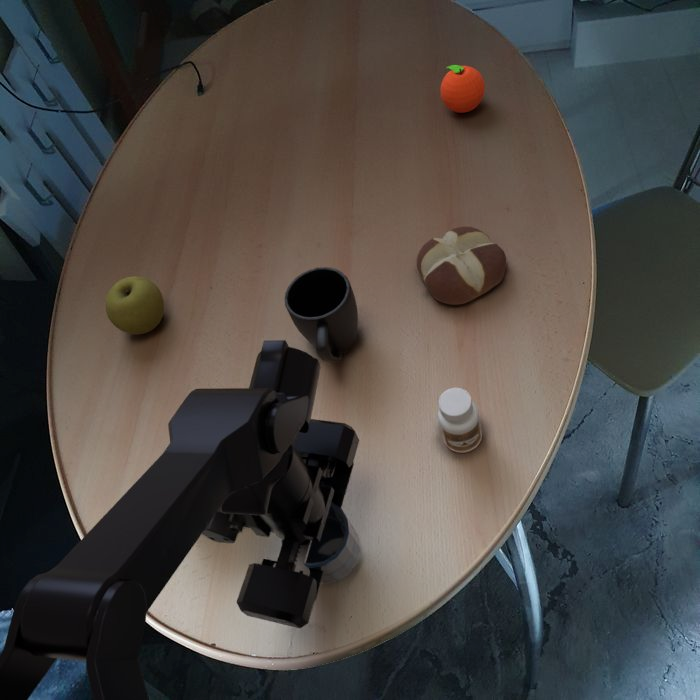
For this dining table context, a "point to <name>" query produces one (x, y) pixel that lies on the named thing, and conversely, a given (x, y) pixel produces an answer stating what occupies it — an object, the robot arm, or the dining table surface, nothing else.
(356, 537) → the blue cup
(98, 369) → the dining table surface
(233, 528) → the robot arm
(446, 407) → the pill bottle
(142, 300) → the apple
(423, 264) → the bread
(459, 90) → the clementine
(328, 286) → the mug
